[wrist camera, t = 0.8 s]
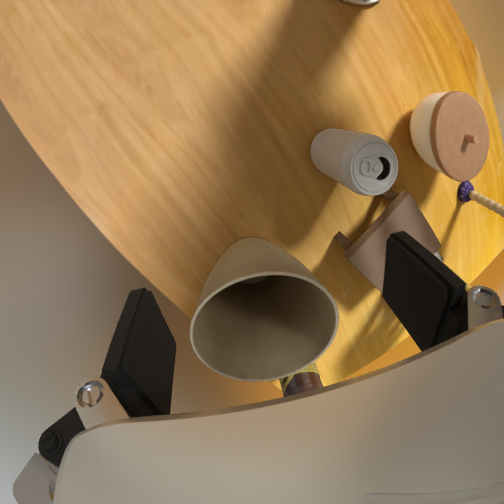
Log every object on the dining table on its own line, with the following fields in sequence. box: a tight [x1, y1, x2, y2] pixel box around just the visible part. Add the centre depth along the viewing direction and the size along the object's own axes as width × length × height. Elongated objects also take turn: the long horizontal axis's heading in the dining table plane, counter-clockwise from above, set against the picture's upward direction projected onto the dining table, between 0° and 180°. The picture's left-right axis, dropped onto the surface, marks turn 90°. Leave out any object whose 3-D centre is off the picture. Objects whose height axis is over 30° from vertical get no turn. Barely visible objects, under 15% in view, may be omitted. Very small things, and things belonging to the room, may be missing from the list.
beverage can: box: [310, 128, 398, 196], centre depth 29 cm, size 6×6×12 cm
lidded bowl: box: [409, 91, 489, 182], centre depth 29 cm, size 13×13×11 cm
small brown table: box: [334, 189, 441, 293], centre depth 38 cm, size 12×12×7 cm
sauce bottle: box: [279, 362, 323, 397], centre depth 40 cm, size 6×6×20 cm
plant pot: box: [190, 237, 339, 382], centre depth 34 cm, size 15×15×16 cm
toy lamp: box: [458, 181, 504, 217], centre depth 32 cm, size 5×5×17 cm
